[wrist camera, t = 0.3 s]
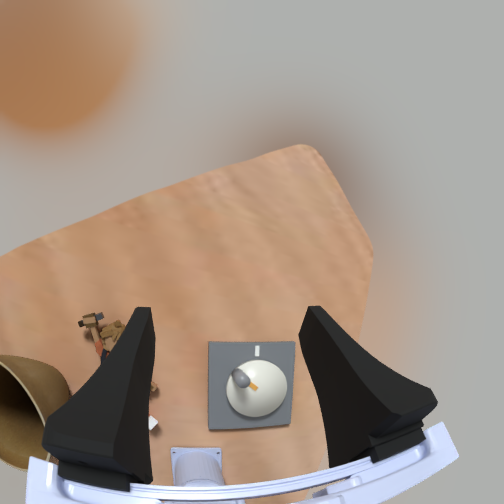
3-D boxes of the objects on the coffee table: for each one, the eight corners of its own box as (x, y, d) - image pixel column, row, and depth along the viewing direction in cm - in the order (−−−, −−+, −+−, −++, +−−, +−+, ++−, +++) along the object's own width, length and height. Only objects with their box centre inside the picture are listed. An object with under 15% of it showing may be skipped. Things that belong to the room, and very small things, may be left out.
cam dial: (295, 381, 40) (309, 390, 35) (257, 423, 38) (267, 437, 33) (251, 345, 40) (261, 351, 35) (211, 390, 37) (215, 402, 32)
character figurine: (105, 424, 33) (100, 435, 29) (82, 312, 36) (73, 314, 32) (163, 422, 36) (162, 433, 32) (142, 308, 38) (138, 309, 34)
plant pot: (72, 334, 34) (19, 349, 19) (102, 424, 33) (72, 476, 17) (4, 344, 30) (-55, 356, 15) (32, 426, 29) (-11, 465, 13)
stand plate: (288, 421, 40) (290, 424, 39) (208, 426, 37) (208, 429, 36) (292, 341, 42) (295, 342, 41) (208, 341, 39) (209, 342, 38)
